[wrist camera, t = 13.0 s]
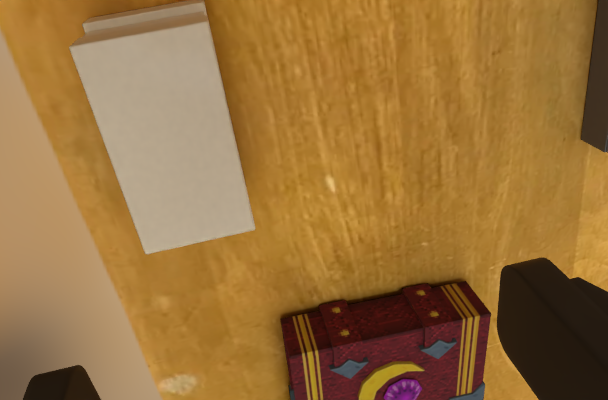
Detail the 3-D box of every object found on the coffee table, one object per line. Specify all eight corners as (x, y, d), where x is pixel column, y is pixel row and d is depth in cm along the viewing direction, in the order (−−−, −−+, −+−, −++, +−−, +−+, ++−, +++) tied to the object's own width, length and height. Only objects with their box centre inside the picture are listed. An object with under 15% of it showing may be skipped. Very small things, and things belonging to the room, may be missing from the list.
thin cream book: (77, 37, 23) (67, 46, 21) (207, 14, 24) (208, 20, 22) (148, 235, 28) (145, 255, 27) (252, 212, 29) (255, 230, 27)
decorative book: (276, 311, 37) (287, 361, 33) (478, 271, 39) (513, 313, 35) (292, 412, 43) (303, 466, 39) (468, 372, 45) (497, 419, 41)
